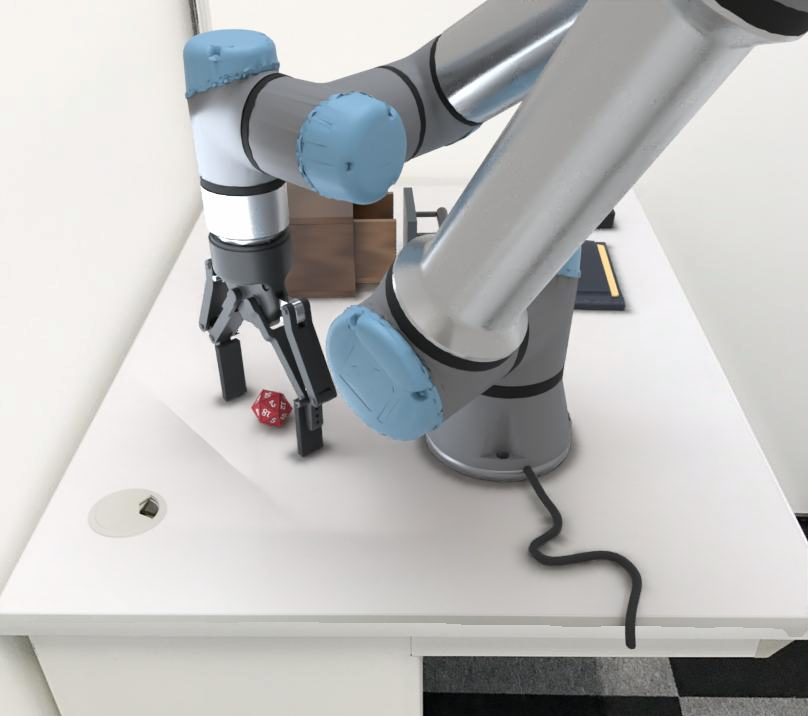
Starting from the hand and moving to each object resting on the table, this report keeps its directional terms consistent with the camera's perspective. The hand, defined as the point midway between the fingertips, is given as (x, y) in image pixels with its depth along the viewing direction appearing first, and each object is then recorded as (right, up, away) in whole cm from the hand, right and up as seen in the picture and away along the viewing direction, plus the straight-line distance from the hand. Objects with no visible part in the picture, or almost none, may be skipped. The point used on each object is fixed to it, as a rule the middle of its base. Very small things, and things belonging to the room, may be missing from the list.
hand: (271, 421), depth 92 cm
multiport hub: (+39, +36, +40) cm, 67 cm away
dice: (0, 0, 0) cm, 0 cm away
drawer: (+11, +25, +26) cm, 37 cm away
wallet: (+36, +24, +27) cm, 51 cm away
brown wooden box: (0, +24, +26) cm, 35 cm away
